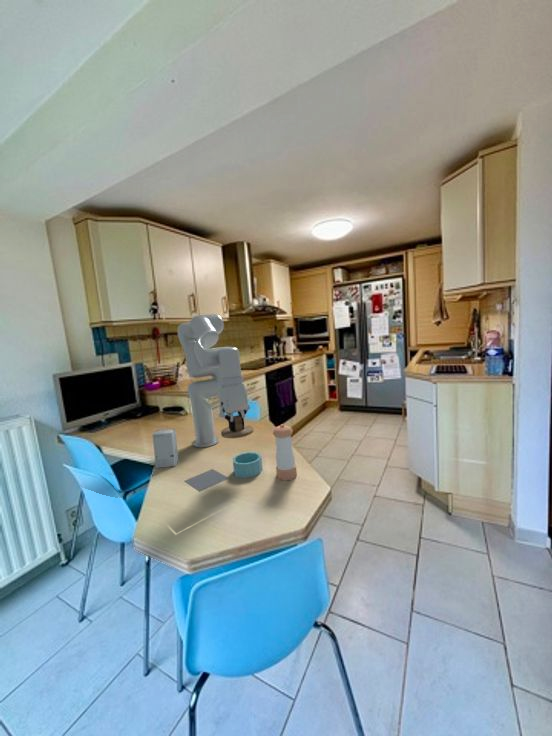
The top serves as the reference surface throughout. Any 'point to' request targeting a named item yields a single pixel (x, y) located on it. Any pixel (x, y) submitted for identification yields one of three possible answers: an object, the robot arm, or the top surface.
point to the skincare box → (165, 448)
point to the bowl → (247, 464)
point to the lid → (237, 429)
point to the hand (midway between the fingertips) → (237, 429)
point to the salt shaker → (284, 453)
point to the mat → (206, 480)
